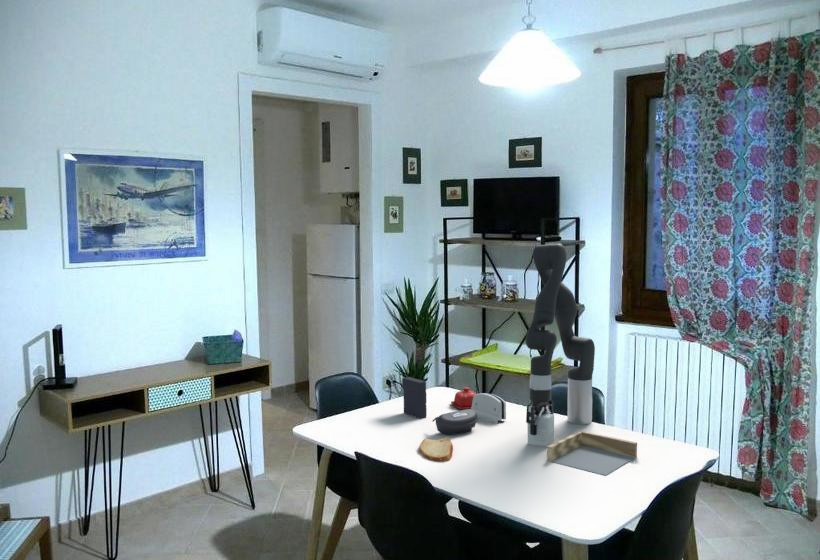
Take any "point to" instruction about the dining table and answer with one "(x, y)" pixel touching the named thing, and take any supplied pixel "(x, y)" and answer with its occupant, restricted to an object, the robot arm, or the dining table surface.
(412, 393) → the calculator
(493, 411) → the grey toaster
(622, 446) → the corner walls
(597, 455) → the mat
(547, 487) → the dining table surface
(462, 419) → the glasses case
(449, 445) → the slice of bread
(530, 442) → the small box
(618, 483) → the dining table surface
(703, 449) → the dining table surface
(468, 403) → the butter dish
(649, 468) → the dining table surface
